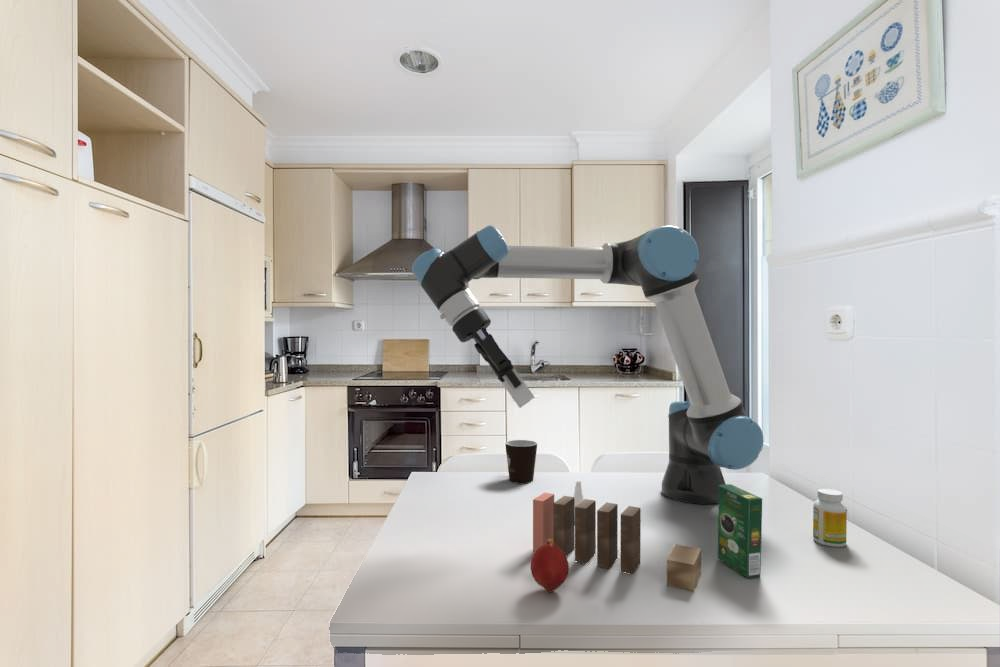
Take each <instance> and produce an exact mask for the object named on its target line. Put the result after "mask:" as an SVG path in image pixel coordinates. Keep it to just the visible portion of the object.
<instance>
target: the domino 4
mask: <svg viewBox="0 0 1000 667" xmlns="http://www.w3.org/2000/svg"><path fill="white" fill-rule="evenodd" d="M596 517H597V518H596V567H598V568H600V567H601V569H605V568H606V570H610V569H611V567H612V566H613V565H614V564H615V562H616V561H617V560H618V534H619V533H618V531H619V530H618V526H619V525H618V522H619V521H618V503H615V502H614V503H613V502H607V501H606V502H605V503H603V505H602V506H600V508H598V509H597V510H596ZM616 559H617V560H616ZM615 560H616V561H615ZM614 561H615V562H614ZM612 564H613V565H612ZM611 565H612V566H611Z"/></svg>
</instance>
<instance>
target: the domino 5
mask: <svg viewBox="0 0 1000 667" xmlns="http://www.w3.org/2000/svg"><path fill="white" fill-rule="evenodd" d="M641 512H642V511H641V507H639V506H638V507H637V506H632V505H629V506H627V507H626V508H625V509H624V510H623V512H621V514H620V570H619V571H621V572H620V573H623V572H626V573H625V574H627V573H630V574H629V575H632V574H633V575H634V573H635V572H636V570H637V569H638V567H639V566H640V565H641V522H642V521H641V518H642V516H641V514H642V513H641ZM639 564H640V565H639ZM638 565H639V566H638ZM636 568H637V569H636ZM634 571H635V572H634Z"/></svg>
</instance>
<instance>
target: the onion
mask: <svg viewBox="0 0 1000 667" xmlns="http://www.w3.org/2000/svg"><path fill="white" fill-rule="evenodd" d="M569 571H570V564H569V561H568V558H567V557H566V555H565V554H564V552H563V551H562V550H561V549H560V548H559V547H558V546H557V545H555V544H554V542H553V540H551V539H548V540H547V541H546V543H545V544H544V545H542V546H541V547H539V548H538V549H537V550H536V552H535V553H534V554H533V556H532V557H531V560H530V572H531V575H532V577H533V580H534V581H535V582H536V583H537V584H538V585H539V586H541V587H542V588H543V589H544V590H545V591H547V592H548V593H553V592H554V591H555V590H556V589H558V588H559V587H560V586H561V585H562V584H564V582H566V579H567V578H568V577H569V573H570V572H569Z"/></svg>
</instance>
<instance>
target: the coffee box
mask: <svg viewBox="0 0 1000 667" xmlns="http://www.w3.org/2000/svg"><path fill="white" fill-rule="evenodd" d="M717 504H718V507H717V508H718V511H717V512H718V514H717V515H718V519H717V527H718V528H717V559H718V560H719V561H721V562H722V563H723V564H725V565H727V566H728V567H730V568H732V569H733V570H734V571H736V572H737V573H738V574H739V575H742V576H743V577H745V578H747V579H756V578H760V577H761V567H762V566H761V565H762V559H761V558H762V531H763V530H762V526H763V525H762V522H763V521H762V520H763V519H762V518H763V498H762V497H760V496H757V495H755V494H753V493H750V492H748V491H746V490H744V489H741V487H740V488H739V486H738V487H737V486H736V485H733V484H731V483H730V484H726V483H725V485H719V503H717Z"/></svg>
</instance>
